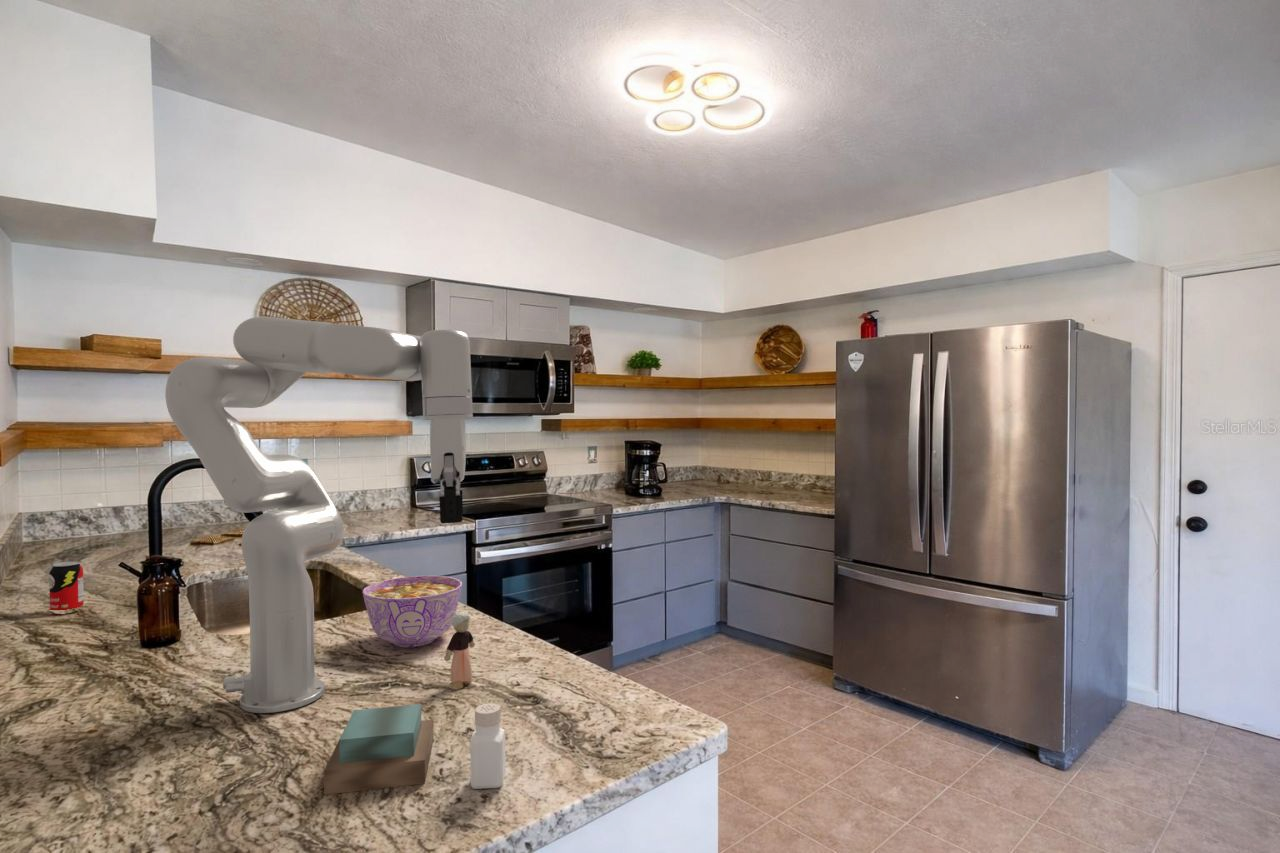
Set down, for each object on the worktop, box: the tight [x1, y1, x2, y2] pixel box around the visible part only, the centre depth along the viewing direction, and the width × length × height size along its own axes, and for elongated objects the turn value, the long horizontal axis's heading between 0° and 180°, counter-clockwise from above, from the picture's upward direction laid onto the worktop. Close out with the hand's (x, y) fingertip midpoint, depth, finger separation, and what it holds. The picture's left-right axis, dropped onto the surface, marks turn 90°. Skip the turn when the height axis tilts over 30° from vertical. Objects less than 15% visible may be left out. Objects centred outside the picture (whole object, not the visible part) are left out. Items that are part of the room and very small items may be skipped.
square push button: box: [323, 703, 434, 795], centre depth 91 cm, size 12×12×6 cm
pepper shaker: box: [469, 702, 506, 790], centre depth 87 cm, size 4×4×10 cm
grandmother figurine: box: [443, 611, 476, 690], centre depth 119 cm, size 8×4×13 cm, turn 168°
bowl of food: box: [362, 575, 463, 648], centre depth 143 cm, size 20×20×12 cm
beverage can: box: [48, 560, 84, 611], centre depth 166 cm, size 6×6×12 cm
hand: (452, 518), depth 106 cm, fingers open, 9 cm apart
